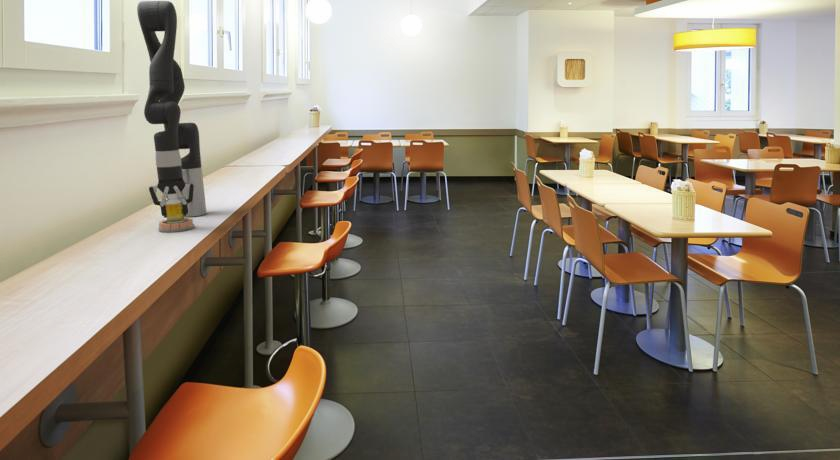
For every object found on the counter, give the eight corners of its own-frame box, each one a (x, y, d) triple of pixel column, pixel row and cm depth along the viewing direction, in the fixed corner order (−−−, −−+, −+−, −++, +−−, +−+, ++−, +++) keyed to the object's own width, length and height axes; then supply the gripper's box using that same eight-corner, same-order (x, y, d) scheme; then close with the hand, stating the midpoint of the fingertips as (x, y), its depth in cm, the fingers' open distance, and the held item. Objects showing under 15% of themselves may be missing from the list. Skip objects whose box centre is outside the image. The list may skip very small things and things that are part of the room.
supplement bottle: (167, 221, 206) (164, 192, 204) (184, 220, 208) (181, 191, 206) (167, 224, 201) (163, 195, 199) (184, 222, 203) (181, 193, 201)
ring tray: (160, 227, 208) (159, 219, 208) (195, 224, 211) (194, 216, 211) (157, 233, 198) (156, 225, 198) (193, 230, 201) (192, 222, 201)
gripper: (193, 162, 206) (199, 212, 209) (146, 165, 202) (153, 216, 206) (192, 164, 199) (198, 216, 202) (143, 167, 195) (150, 220, 198)
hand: (175, 216), depth 204 cm, fingers closed on supplement bottle, 5 cm apart
